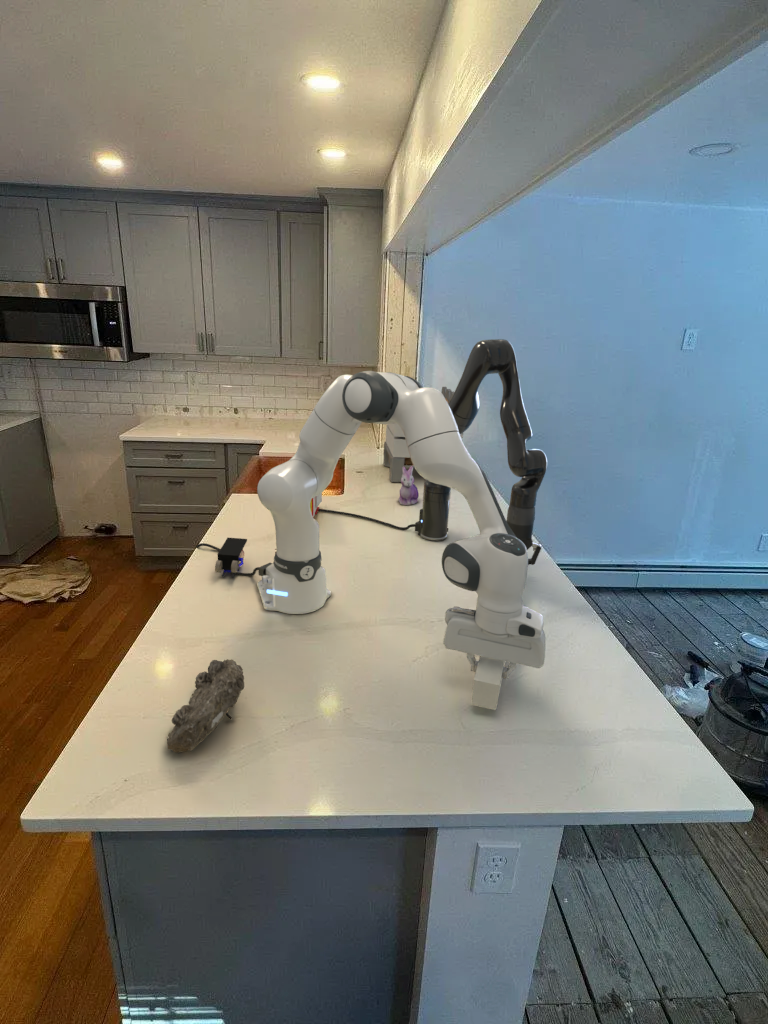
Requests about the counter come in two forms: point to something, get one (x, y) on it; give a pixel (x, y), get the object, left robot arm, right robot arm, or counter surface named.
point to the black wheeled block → (230, 556)
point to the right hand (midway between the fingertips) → (512, 573)
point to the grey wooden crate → (401, 446)
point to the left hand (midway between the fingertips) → (490, 673)
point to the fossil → (206, 705)
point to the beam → (487, 683)
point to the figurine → (408, 488)
